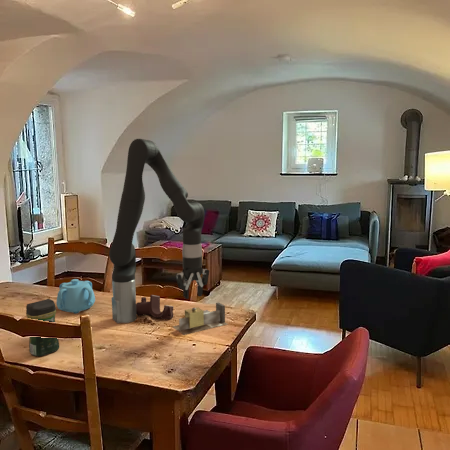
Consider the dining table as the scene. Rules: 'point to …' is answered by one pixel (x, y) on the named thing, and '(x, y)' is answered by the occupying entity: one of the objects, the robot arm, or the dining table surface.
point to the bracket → (154, 308)
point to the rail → (210, 321)
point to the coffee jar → (46, 313)
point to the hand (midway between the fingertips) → (193, 296)
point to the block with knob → (195, 317)
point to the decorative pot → (75, 296)
